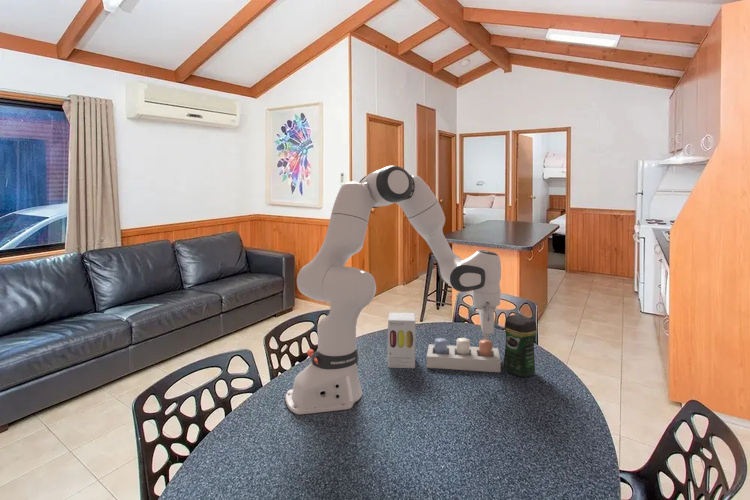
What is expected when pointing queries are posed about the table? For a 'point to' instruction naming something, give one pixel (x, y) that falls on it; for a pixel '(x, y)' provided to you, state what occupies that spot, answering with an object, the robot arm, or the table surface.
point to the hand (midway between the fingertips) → (485, 338)
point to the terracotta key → (485, 347)
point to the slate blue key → (440, 346)
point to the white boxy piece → (464, 359)
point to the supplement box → (401, 340)
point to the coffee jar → (519, 346)
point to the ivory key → (463, 345)
